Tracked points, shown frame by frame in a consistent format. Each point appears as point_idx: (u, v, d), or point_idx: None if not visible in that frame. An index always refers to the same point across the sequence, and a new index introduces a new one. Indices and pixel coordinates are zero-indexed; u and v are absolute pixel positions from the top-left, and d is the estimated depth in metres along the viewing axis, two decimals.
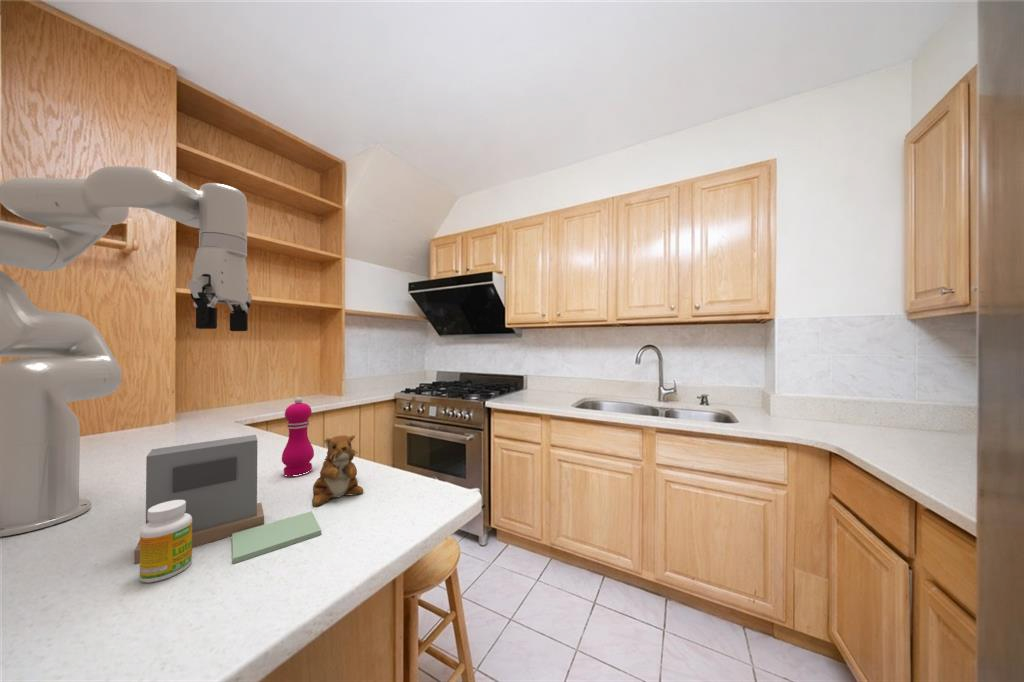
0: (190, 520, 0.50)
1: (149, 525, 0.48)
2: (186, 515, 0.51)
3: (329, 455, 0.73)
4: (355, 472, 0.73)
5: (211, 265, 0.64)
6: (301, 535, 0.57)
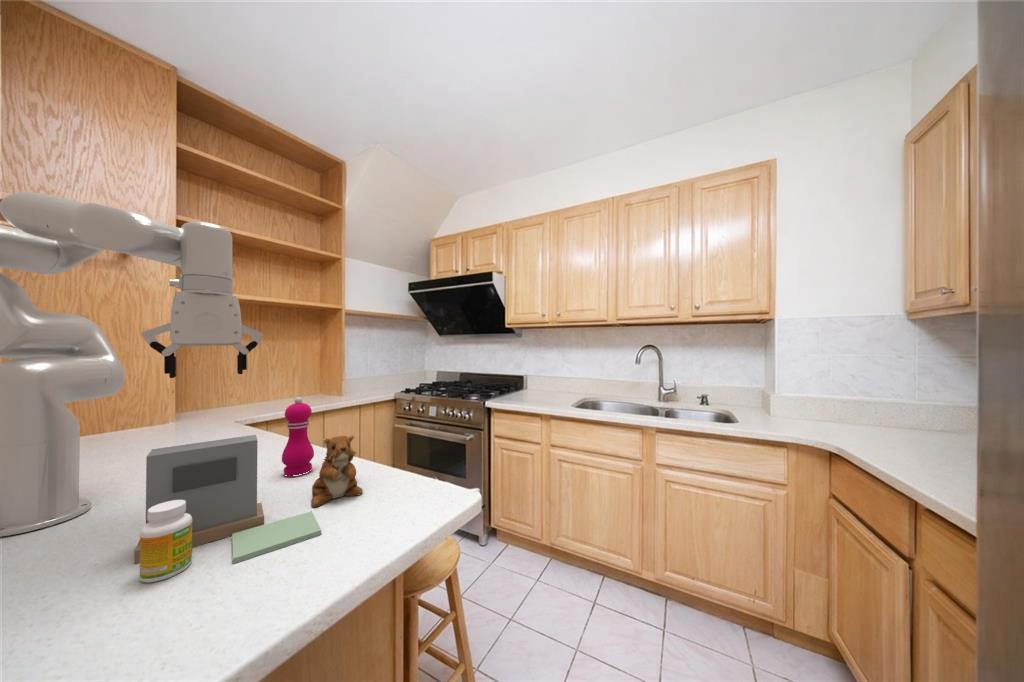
0: (190, 520, 0.50)
1: (149, 525, 0.48)
2: (186, 515, 0.51)
3: (328, 456, 0.73)
4: (354, 473, 0.73)
5: None
6: (301, 535, 0.57)
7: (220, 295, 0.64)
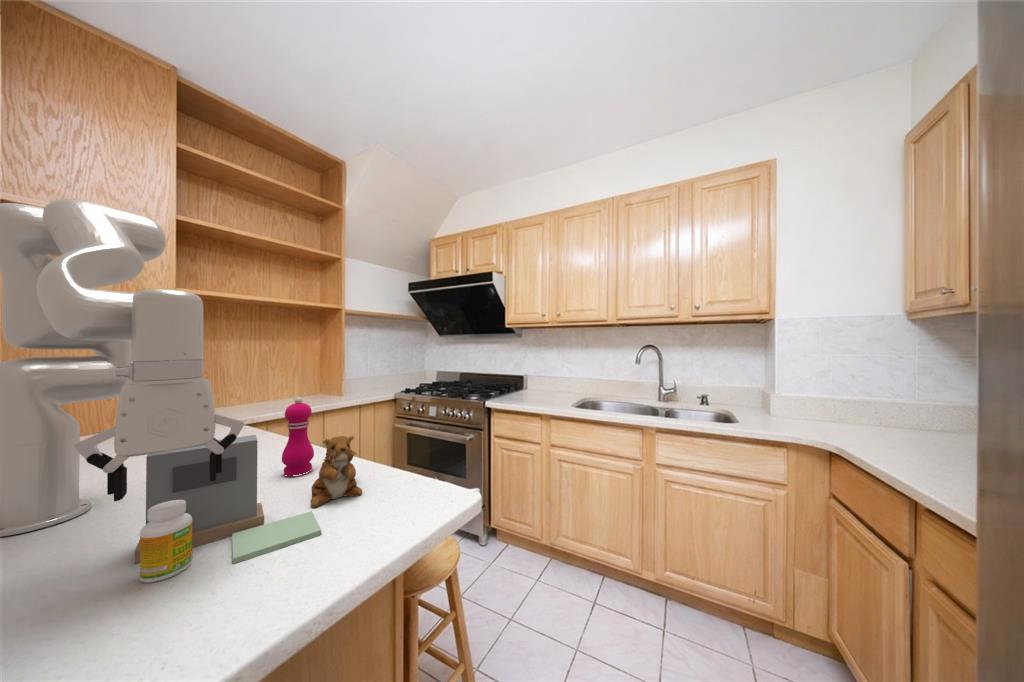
0: (190, 520, 0.50)
1: (149, 525, 0.48)
2: (186, 515, 0.51)
3: (328, 456, 0.72)
4: (354, 473, 0.72)
5: None
6: (301, 535, 0.57)
7: (185, 383, 0.49)
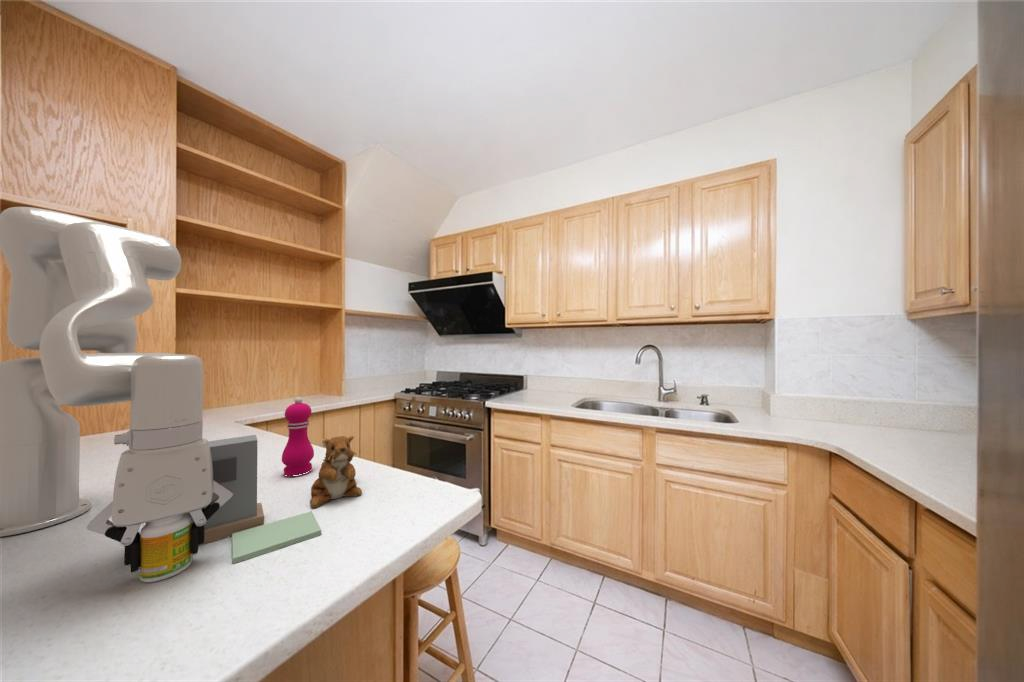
0: (190, 520, 0.50)
1: (149, 525, 0.48)
2: (186, 515, 0.51)
3: (327, 456, 0.72)
4: (353, 473, 0.72)
5: None
6: (301, 535, 0.57)
7: (183, 448, 0.49)
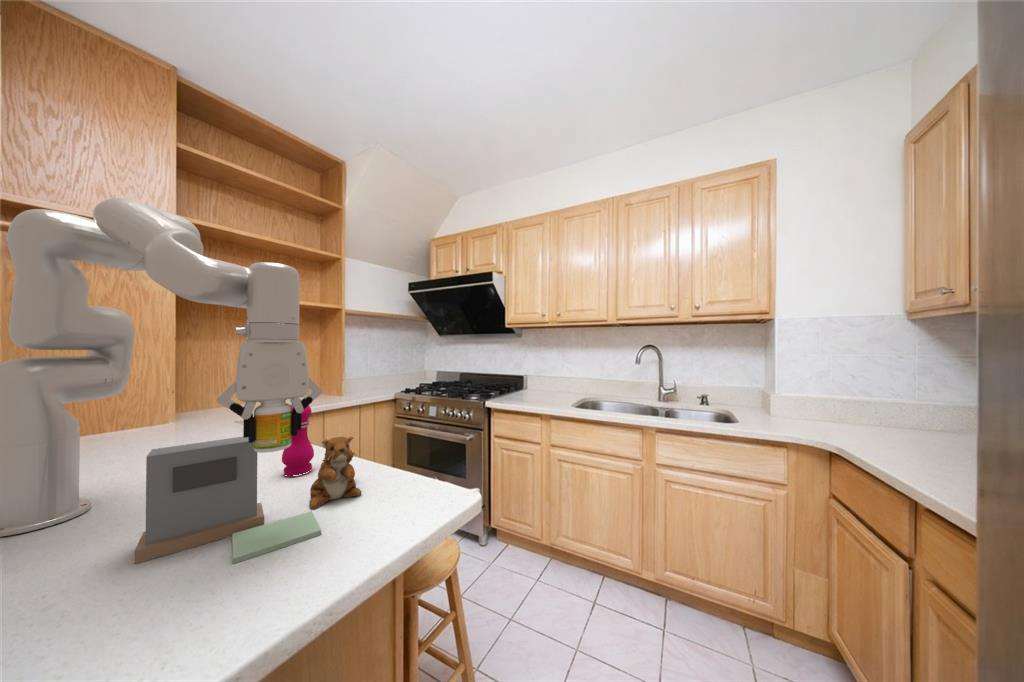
0: (291, 407, 0.59)
1: (261, 406, 0.56)
2: None
3: (327, 457, 0.72)
4: (353, 474, 0.72)
5: None
6: (301, 535, 0.57)
7: (288, 343, 0.57)
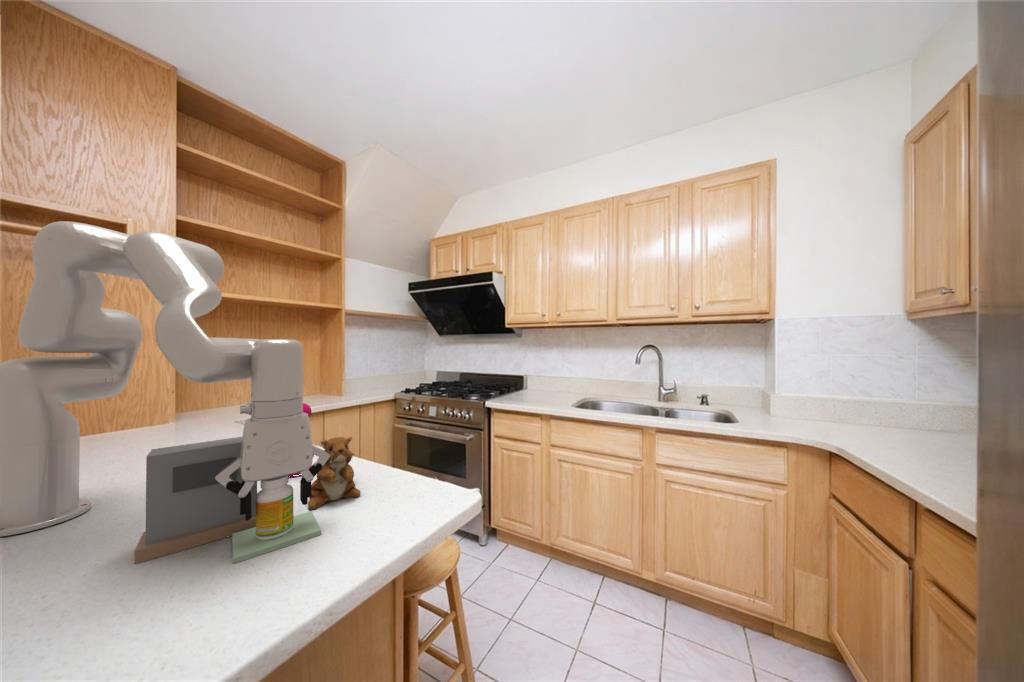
0: (292, 489, 0.59)
1: (263, 492, 0.56)
2: (289, 485, 0.59)
3: None
4: (352, 475, 0.72)
5: None
6: (301, 535, 0.57)
7: (292, 418, 0.58)
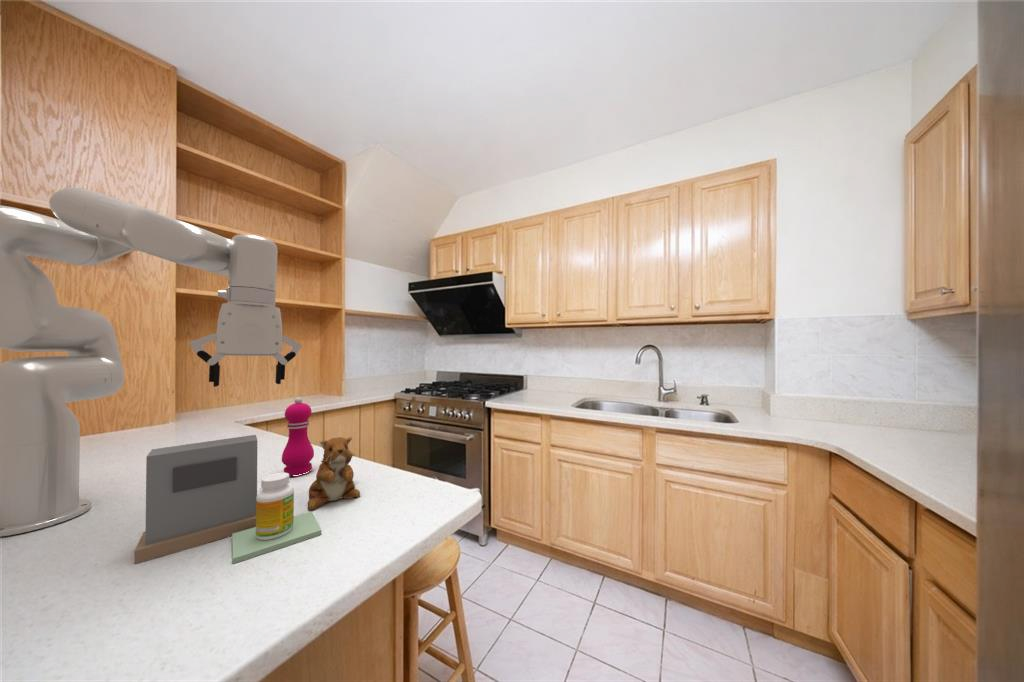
0: (293, 489, 0.59)
1: (263, 492, 0.56)
2: (289, 485, 0.59)
3: (325, 457, 0.71)
4: (351, 475, 0.71)
5: None
6: (301, 535, 0.57)
7: (264, 306, 0.65)
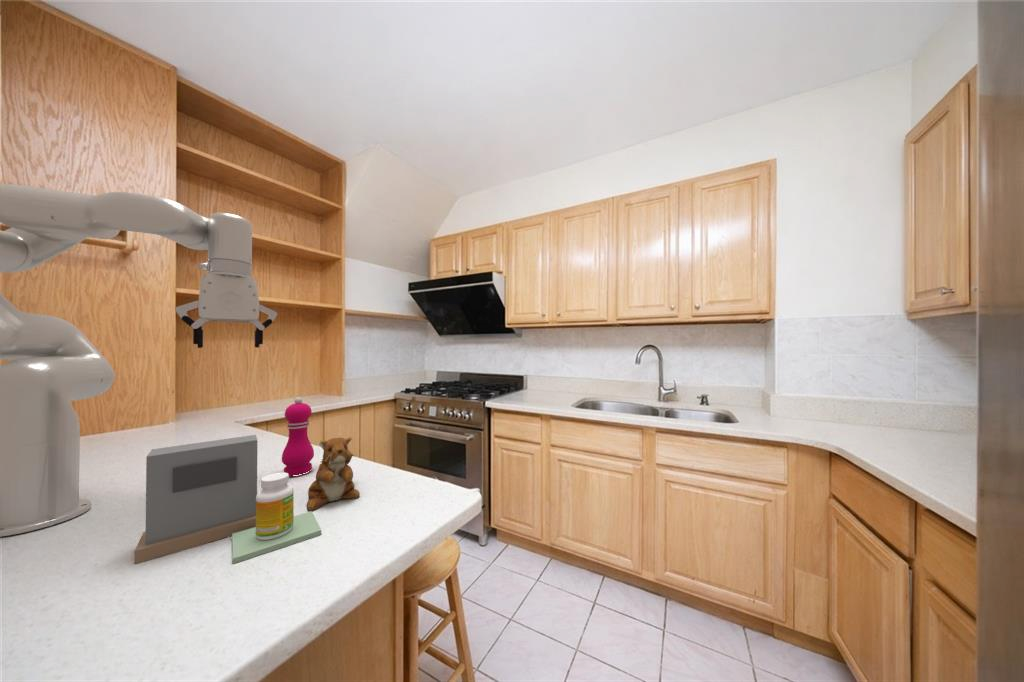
0: (292, 489, 0.59)
1: (263, 492, 0.56)
2: (289, 485, 0.59)
3: (325, 458, 0.71)
4: (351, 475, 0.71)
5: None
6: (301, 535, 0.57)
7: (241, 277, 0.73)
